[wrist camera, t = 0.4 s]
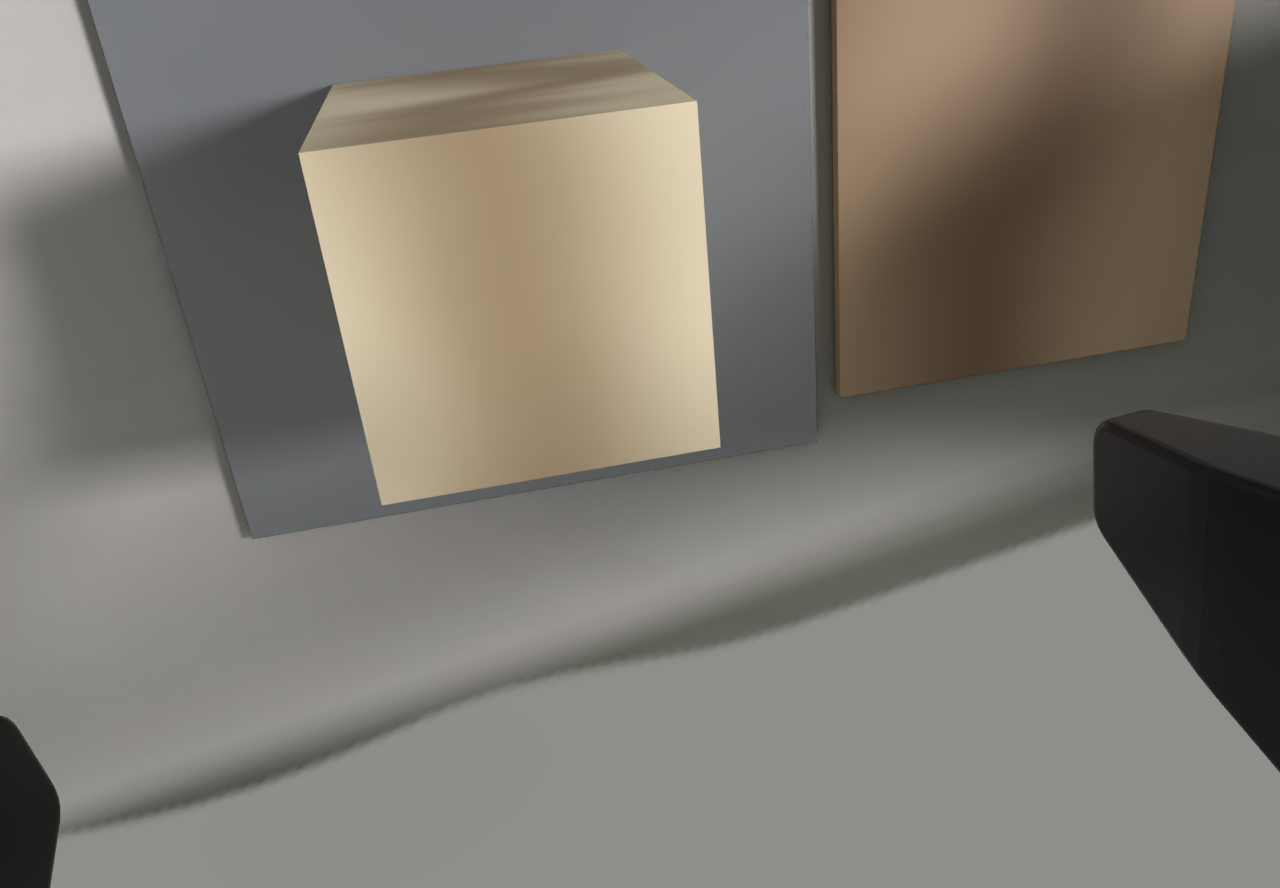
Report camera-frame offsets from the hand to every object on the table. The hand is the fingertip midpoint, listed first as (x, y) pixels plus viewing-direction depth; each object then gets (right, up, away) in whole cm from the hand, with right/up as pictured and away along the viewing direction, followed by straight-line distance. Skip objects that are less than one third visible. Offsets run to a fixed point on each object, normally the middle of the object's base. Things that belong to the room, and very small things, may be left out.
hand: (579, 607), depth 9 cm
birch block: (-2, +6, +11) cm, 13 cm away
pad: (+8, +7, +13) cm, 17 cm away
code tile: (-2, +6, +11) cm, 13 cm away
